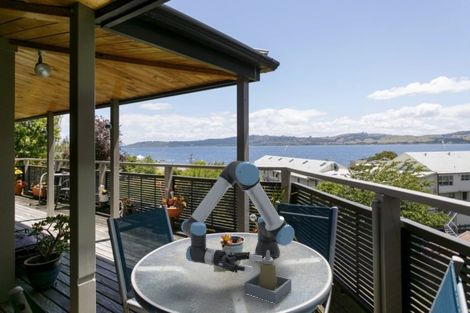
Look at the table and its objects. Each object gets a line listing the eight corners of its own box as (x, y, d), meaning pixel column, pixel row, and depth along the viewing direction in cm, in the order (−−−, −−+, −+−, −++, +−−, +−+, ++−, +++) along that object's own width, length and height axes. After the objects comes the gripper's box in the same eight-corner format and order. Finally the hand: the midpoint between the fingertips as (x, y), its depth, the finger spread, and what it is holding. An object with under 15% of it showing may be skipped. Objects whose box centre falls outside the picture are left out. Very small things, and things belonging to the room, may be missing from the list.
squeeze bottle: (262, 295, 136) (262, 254, 135) (256, 287, 144) (256, 248, 143) (279, 293, 138) (279, 253, 137) (272, 285, 146) (272, 247, 145)
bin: (261, 281, 152) (261, 271, 151) (291, 289, 143) (291, 279, 142) (244, 294, 139) (244, 283, 139) (275, 304, 130) (275, 292, 130)
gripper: (227, 256, 162) (265, 262, 154) (203, 275, 139) (247, 283, 131) (226, 242, 162) (265, 247, 153) (203, 258, 139) (247, 265, 131)
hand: (257, 264), depth 142 cm, fingers open, 13 cm apart
